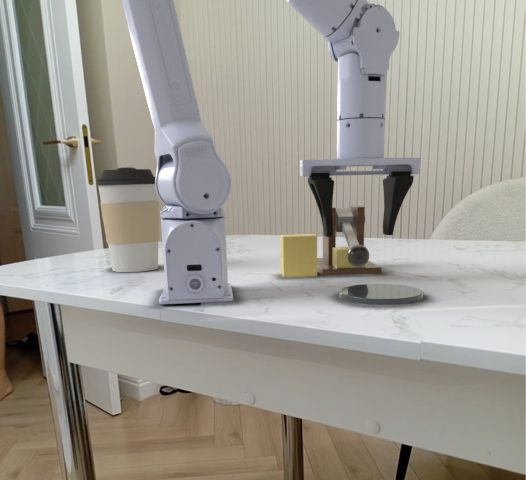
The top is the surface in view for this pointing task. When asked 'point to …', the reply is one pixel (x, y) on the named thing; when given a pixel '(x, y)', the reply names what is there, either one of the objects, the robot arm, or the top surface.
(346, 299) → the plate
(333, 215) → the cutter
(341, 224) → the ball knob lever
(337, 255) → the butter block
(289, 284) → the top surface
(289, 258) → the butter portion
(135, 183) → the coffee cup
